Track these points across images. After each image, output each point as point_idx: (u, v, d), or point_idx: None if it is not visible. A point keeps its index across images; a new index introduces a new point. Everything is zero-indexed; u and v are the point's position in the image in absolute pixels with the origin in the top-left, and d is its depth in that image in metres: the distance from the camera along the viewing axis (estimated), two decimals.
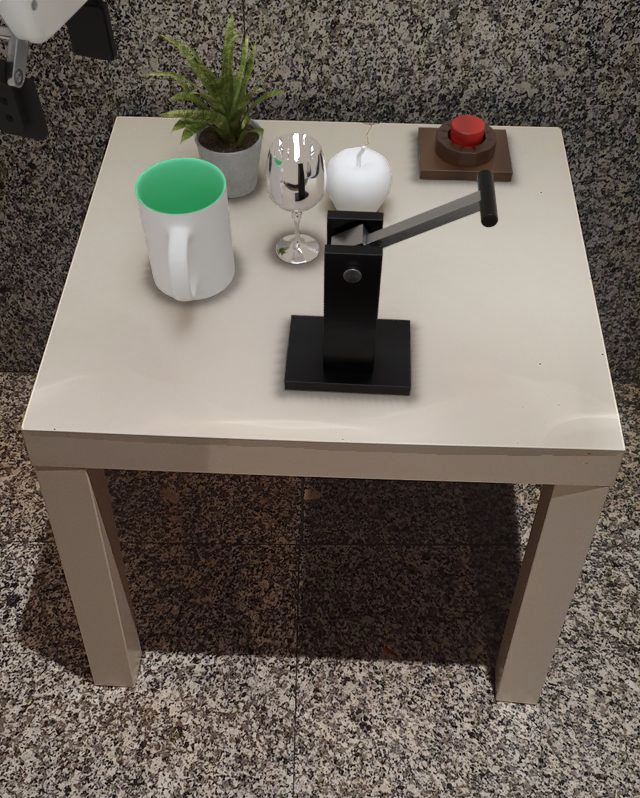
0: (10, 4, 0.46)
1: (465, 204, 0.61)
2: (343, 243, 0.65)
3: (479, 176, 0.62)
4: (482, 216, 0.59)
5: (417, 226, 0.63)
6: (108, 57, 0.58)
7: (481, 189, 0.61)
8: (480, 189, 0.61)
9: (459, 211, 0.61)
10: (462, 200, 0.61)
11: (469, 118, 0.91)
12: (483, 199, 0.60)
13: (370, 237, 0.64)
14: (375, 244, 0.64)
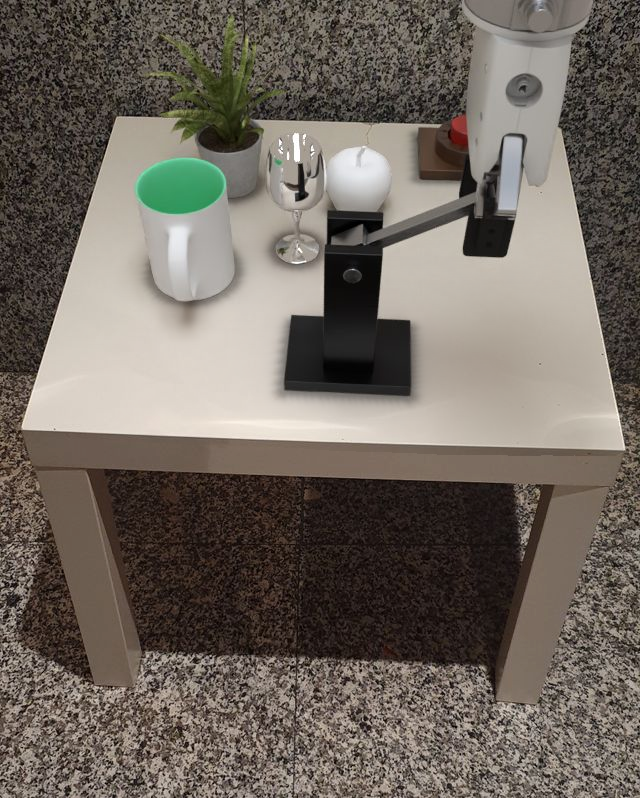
0: (539, 159, 0.52)
1: (465, 204, 0.61)
2: (343, 243, 0.65)
3: None
4: None
5: (417, 226, 0.63)
6: None
7: None
8: None
9: (459, 211, 0.61)
10: (462, 200, 0.61)
11: None
12: None
13: (370, 237, 0.64)
14: (375, 244, 0.64)
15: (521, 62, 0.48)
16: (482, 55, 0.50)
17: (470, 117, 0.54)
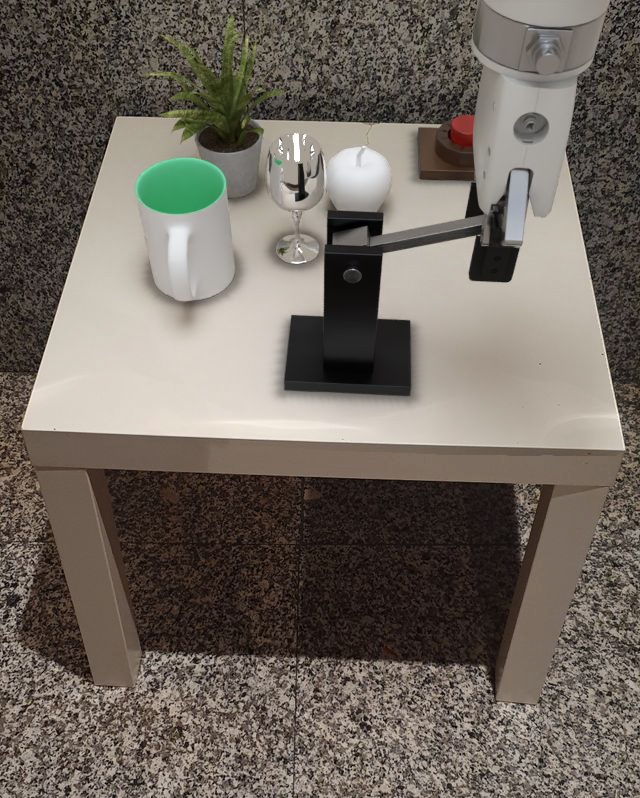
0: (545, 192, 0.54)
1: (474, 224, 0.62)
2: (346, 242, 0.64)
3: None
4: None
5: (423, 238, 0.63)
6: None
7: None
8: None
9: (467, 230, 0.63)
10: (471, 220, 0.63)
11: (469, 118, 0.91)
12: (493, 223, 0.62)
13: (373, 240, 0.65)
14: None
15: (528, 102, 0.50)
16: (490, 93, 0.52)
17: (478, 150, 0.56)
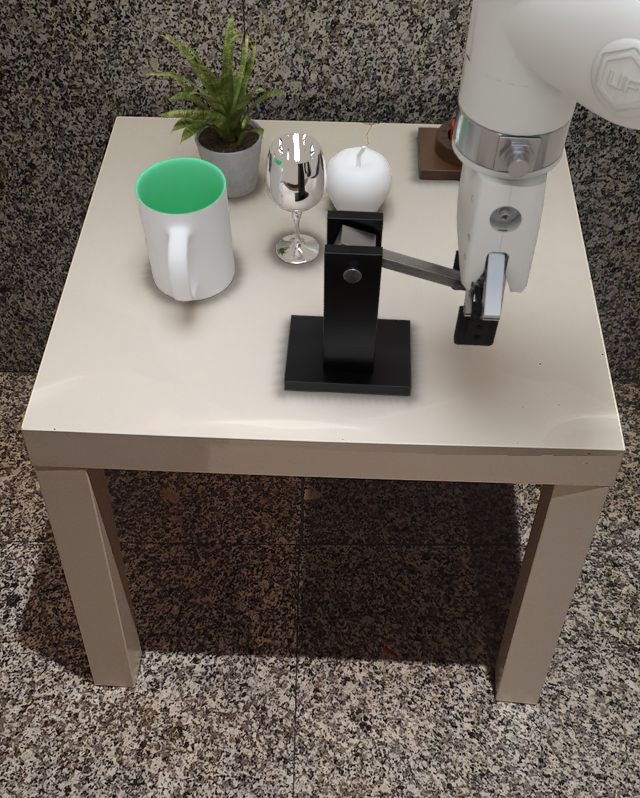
0: (520, 272, 0.60)
1: None
2: (355, 241, 0.64)
3: None
4: None
5: (421, 270, 0.66)
6: None
7: None
8: None
9: (458, 282, 0.67)
10: None
11: None
12: None
13: None
14: None
15: (503, 197, 0.55)
16: (469, 186, 0.57)
17: (459, 231, 0.62)
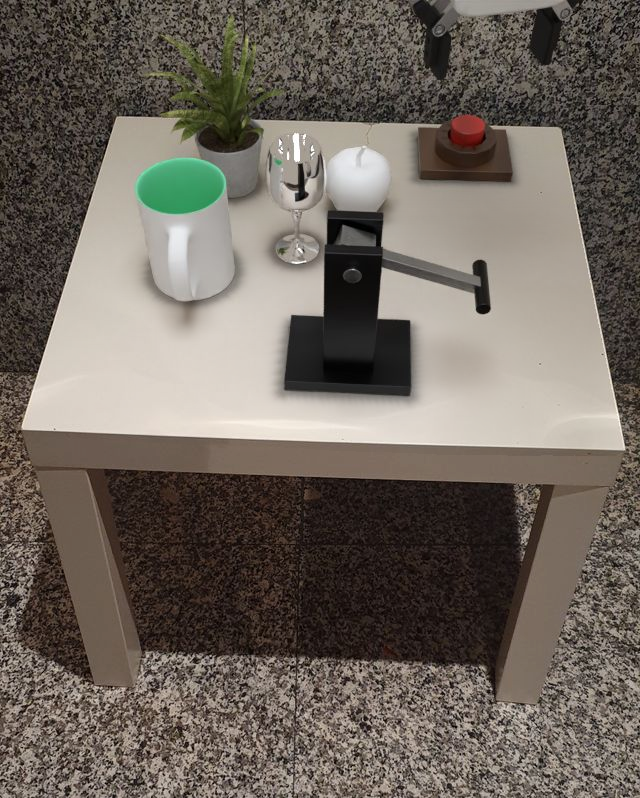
0: None
1: (467, 280, 0.67)
2: (355, 241, 0.64)
3: (479, 263, 0.69)
4: (482, 302, 0.66)
5: (421, 270, 0.66)
6: (541, 61, 0.73)
7: (482, 277, 0.68)
8: (480, 276, 0.68)
9: (458, 282, 0.67)
10: (464, 275, 0.67)
11: (469, 118, 0.91)
12: (483, 287, 0.67)
13: None
14: None
15: None
16: None
17: None
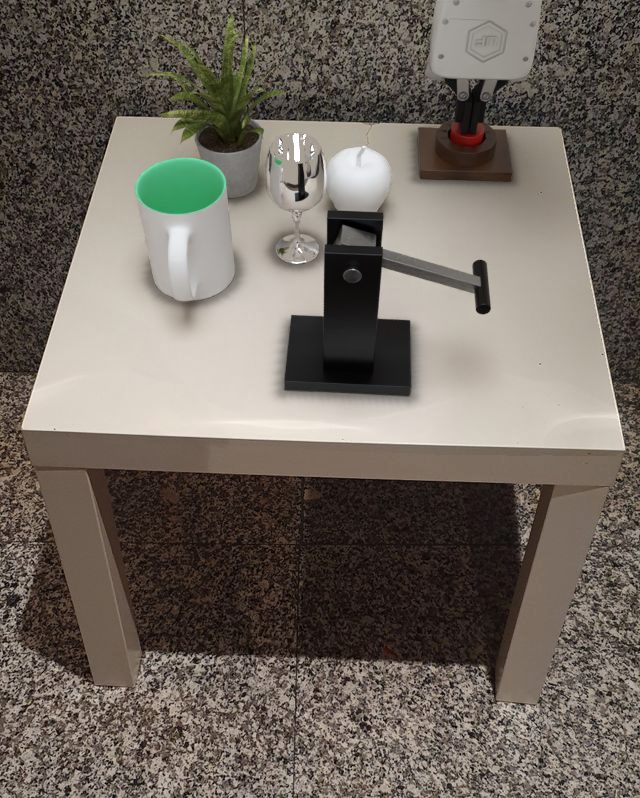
0: (431, 48, 0.82)
1: (467, 280, 0.67)
2: (355, 241, 0.64)
3: (479, 263, 0.69)
4: (482, 302, 0.66)
5: (421, 270, 0.66)
6: (469, 130, 0.90)
7: (482, 277, 0.68)
8: (480, 276, 0.68)
9: (458, 282, 0.67)
10: (464, 275, 0.67)
11: None
12: (483, 287, 0.67)
13: None
14: None
15: None
16: None
17: None
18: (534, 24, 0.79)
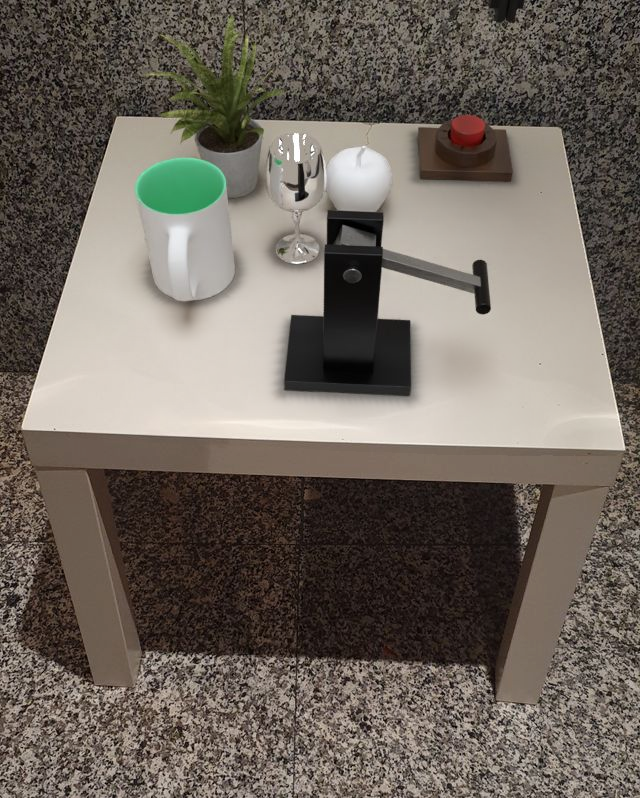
0: None
1: (467, 280, 0.67)
2: (355, 241, 0.64)
3: (479, 263, 0.69)
4: (482, 302, 0.66)
5: (421, 270, 0.66)
6: (506, 18, 0.75)
7: (482, 277, 0.68)
8: (480, 276, 0.68)
9: (458, 282, 0.67)
10: (464, 275, 0.67)
11: (469, 118, 0.91)
12: (483, 287, 0.67)
13: None
14: None
15: None
16: None
17: None
18: None
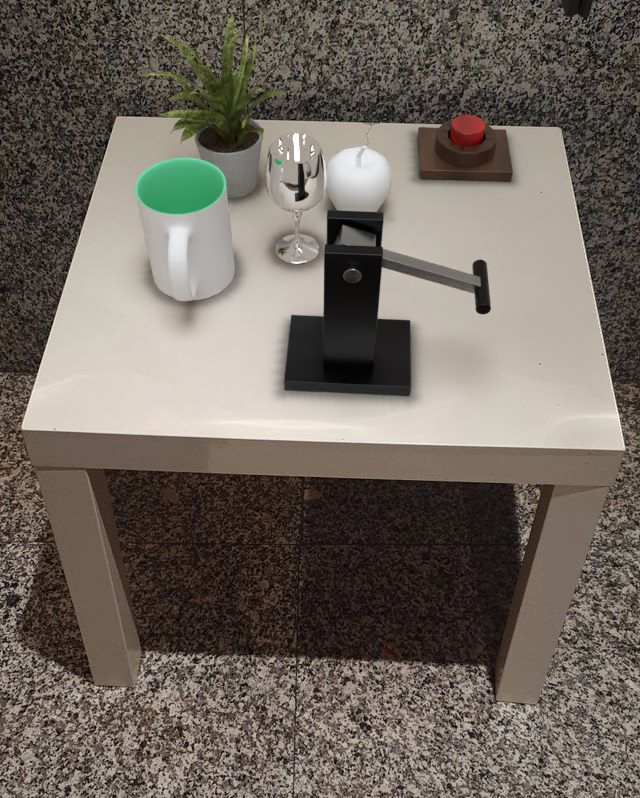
0: None
1: (467, 280, 0.67)
2: (355, 241, 0.64)
3: (479, 263, 0.69)
4: (482, 302, 0.66)
5: (421, 270, 0.66)
6: (579, 11, 0.60)
7: (482, 277, 0.68)
8: (480, 276, 0.68)
9: (458, 282, 0.67)
10: (464, 275, 0.67)
11: (469, 118, 0.91)
12: (483, 287, 0.67)
13: None
14: None
15: None
16: None
17: None
18: None
